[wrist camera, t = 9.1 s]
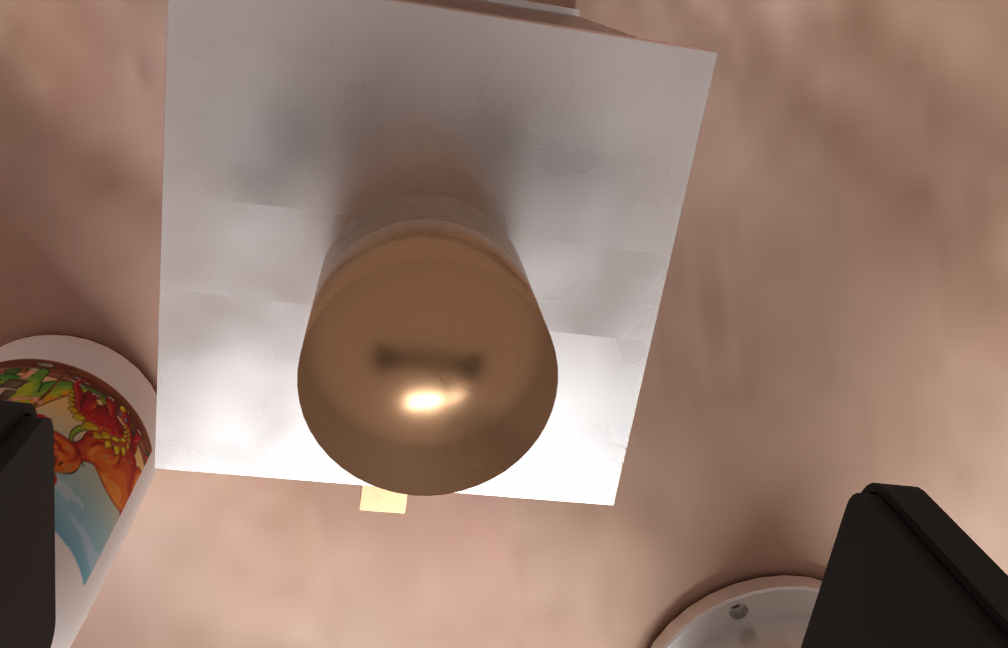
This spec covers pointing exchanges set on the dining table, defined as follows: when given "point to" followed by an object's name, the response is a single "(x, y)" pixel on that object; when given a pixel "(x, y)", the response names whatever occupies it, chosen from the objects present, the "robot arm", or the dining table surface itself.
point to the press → (405, 171)
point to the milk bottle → (86, 455)
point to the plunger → (425, 349)
